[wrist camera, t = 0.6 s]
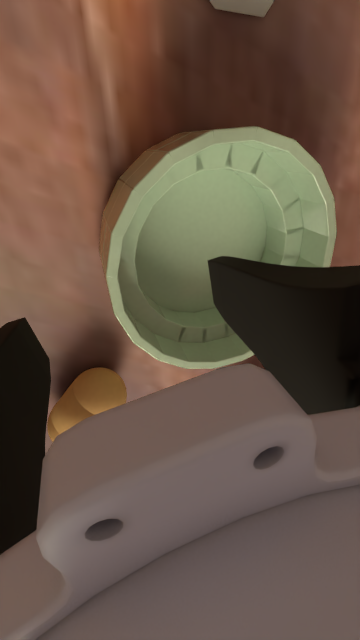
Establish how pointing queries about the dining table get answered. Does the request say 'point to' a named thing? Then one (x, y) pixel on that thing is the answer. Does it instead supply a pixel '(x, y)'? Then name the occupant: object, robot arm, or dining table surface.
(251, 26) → the dining table surface
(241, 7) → the flask
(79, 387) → the potato
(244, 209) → the celadon bowl
